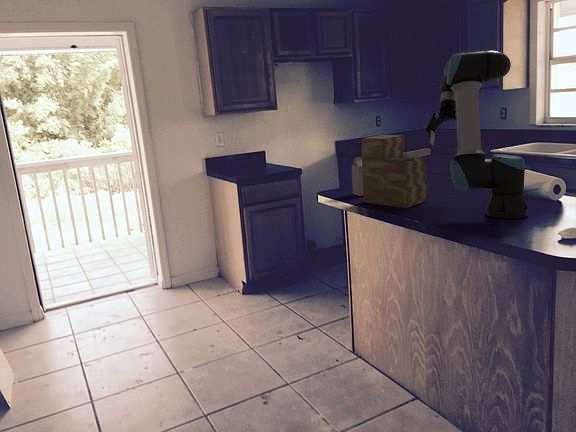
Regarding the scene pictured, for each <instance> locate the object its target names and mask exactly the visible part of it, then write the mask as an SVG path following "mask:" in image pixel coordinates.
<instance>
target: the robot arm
mask: <svg viewBox="0 0 576 432" xmlns="http://www.w3.org/2000/svg"><path fill="white" fill-rule="evenodd" d="M511 63H512V62H511V59H510V58H509V56H507V55H506V54H504V53H503V52H501V51H497V50H486V51H484V50H483V51H470V52H460V53H454V54H452V55H451V56H450V57H449V60H448V61H447V62H446V64H445V66H444V69H443V75H442V76H441V81H440V84H441V85H440V99H439V100H440V101H439V112H438V113H436V112H434V113H432V117H431V119H430V120H429V122H428V124H427V126H426V128H425V130H424V131H426V133H427V134H428V138H429V139H430V141H429V144H431V145H432V146H435V132H436V130H437V129H438V128H439V127H440V125H441V124H443V123H444V122H447V121H451V120H452V119H453V120H454V121H455V122H456V136H457V137H456V140H457V143H456V144H457V152H456V153H455V155H454V156H453V160H451V161H450V162H449V169H450V178H451V181H452V185H453V187H454V188H455V189H456V190H459V191H469V190H471V191H473V190H475V191H476V190H490V196H489V197H490V198H489V199H488V202H487V205H486V207H485V215H486V216H487V217H489V218H495V219H500V220H501V219H504V220H512V219H513V220H514V219H515V220H517V219H522V218H526V217H528V215H529V208H528V205H527V201H526V198H525V196H524V194H525V189H524V183H525V173H526V172H525V171H526V165H525V164H526V162H525V159H524V158H523V157H521V156H517V155H509V154H492V156H491V158H486V157H487V156H486V153H485V151H483V150H482V139H481V123H480V122H481V119H480V118H481V117H480V97H479V96H480V94H479V90H480V89H481V88H482V87H483V83H486V82H489V83H490V82H494V81H497V80H500V79H502V78H504V77H506V76H507V74H509V72H510V70H511V67H512V65H511Z"/></svg>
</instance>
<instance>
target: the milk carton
mask: <svg viewBox="0 0 576 432" xmlns="http://www.w3.org/2000/svg"><path fill="white" fill-rule="evenodd" d="M351 177H352V178H351V181H352V183H351V184H352V195H356V196H359V197H361V196H363V172H362V156H359V157H354V159H353V162H352V163H351Z"/></svg>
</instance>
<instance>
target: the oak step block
mask: <svg viewBox="0 0 576 432" xmlns="http://www.w3.org/2000/svg"><path fill="white" fill-rule="evenodd" d="M402 153H405V135H404V134H381V135H380V134H379V135H373V136H369V137H362V138H361V157H362V172H363V195H362V196H363V197H362V198H363V203H365V204H366V203H368V204H373V205H374V204H375V205H382V206H387V207H388V206H389V207H395V208H402V209H407V208H411V207H413V206H417V205H419V204H422V203H426V202H427V201H428V200H427V199H428V196H427V194H428V193H427V191H428V189H427V187H428V185H427V183H428V182H427V181H428V179H427V178H428V176H427V175H428V174H427V172H428V171H427V165H428V163H427V160H428V159H427V157H417V158H414V160H412V161H408V162H403V163H397V162H383V159H388V158H392V157H402Z"/></svg>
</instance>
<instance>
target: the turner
mask: <svg viewBox="0 0 576 432" xmlns="http://www.w3.org/2000/svg"><path fill="white" fill-rule="evenodd" d="M429 155H431V148H421V149H415V150H411V151H407V152H405V151H404V153H402V157H392V158H388V159H383V162H397V163H403V162H408V161H412V160H414V158H417V157H420V158H423V157H426V156H429Z"/></svg>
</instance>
